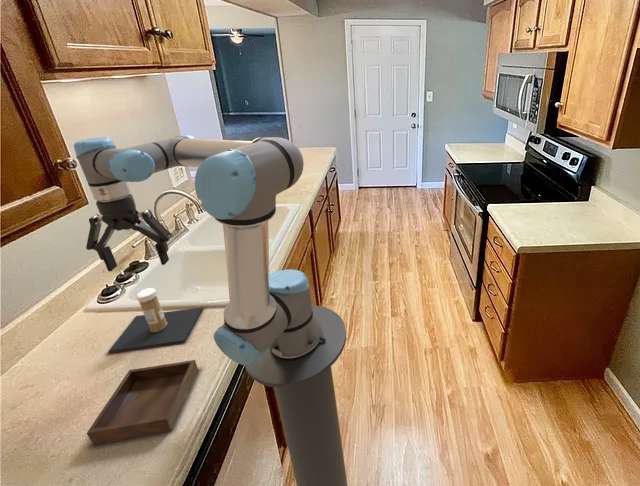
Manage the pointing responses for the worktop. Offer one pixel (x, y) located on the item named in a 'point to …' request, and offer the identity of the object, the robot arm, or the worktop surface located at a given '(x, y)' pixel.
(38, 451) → the worktop surface
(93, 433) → the tray
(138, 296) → the sprinkles bottle
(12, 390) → the worktop surface
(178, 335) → the mat
